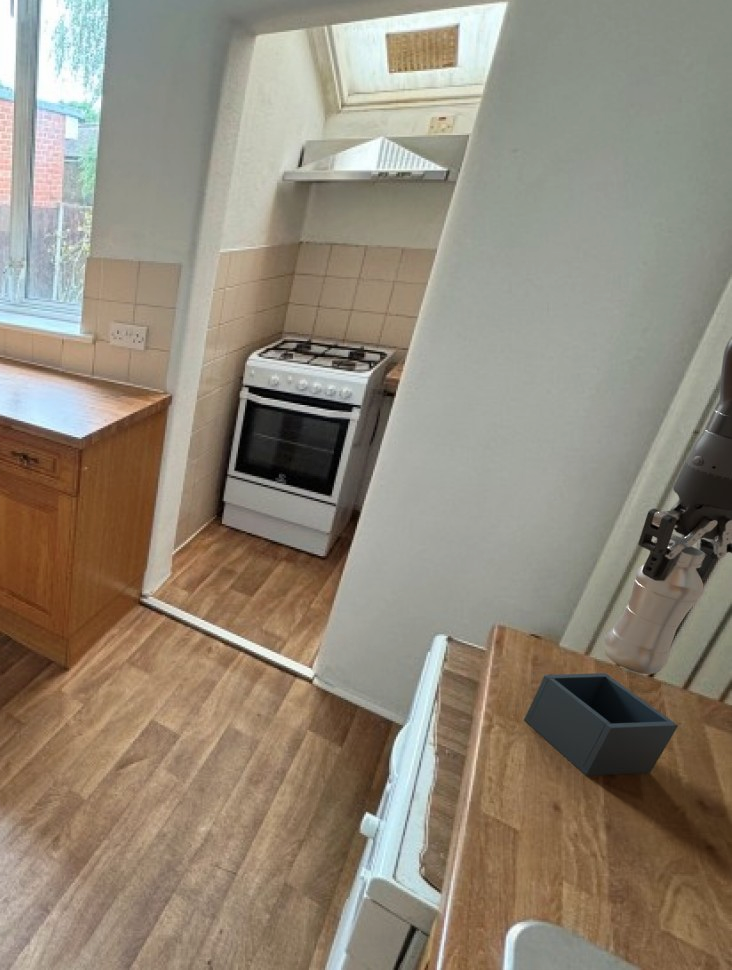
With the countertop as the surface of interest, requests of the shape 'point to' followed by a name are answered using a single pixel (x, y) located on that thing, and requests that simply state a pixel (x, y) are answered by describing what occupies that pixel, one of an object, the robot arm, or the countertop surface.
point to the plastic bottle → (655, 614)
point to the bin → (599, 724)
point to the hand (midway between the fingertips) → (673, 576)
